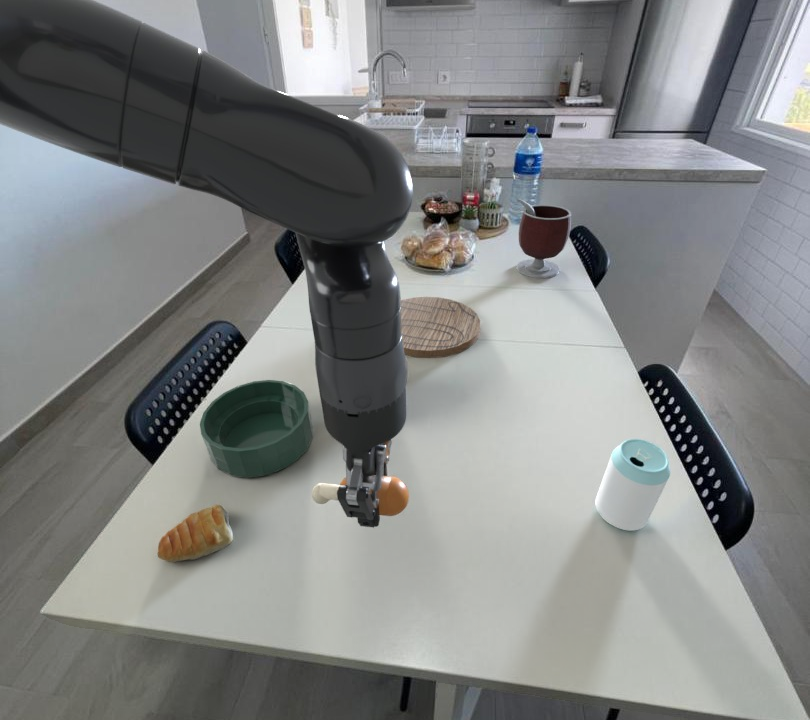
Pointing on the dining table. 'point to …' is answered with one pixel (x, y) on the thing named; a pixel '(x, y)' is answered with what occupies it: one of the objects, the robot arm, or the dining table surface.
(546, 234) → the mate gourd
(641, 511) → the can
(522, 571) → the dining table surface
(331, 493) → the drumstick
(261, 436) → the green faceted bowl
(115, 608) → the dining table surface
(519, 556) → the dining table surface
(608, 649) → the dining table surface
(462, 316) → the trivet
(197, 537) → the pastry
